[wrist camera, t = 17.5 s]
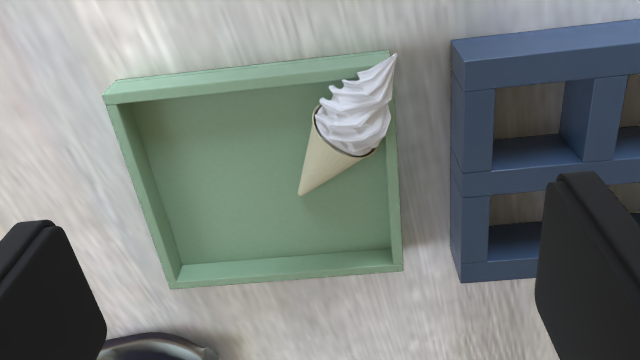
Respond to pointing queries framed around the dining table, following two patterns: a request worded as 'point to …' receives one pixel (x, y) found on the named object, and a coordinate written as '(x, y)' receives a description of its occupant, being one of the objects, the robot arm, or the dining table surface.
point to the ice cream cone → (348, 125)
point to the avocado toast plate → (154, 348)
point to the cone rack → (536, 151)
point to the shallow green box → (254, 175)
